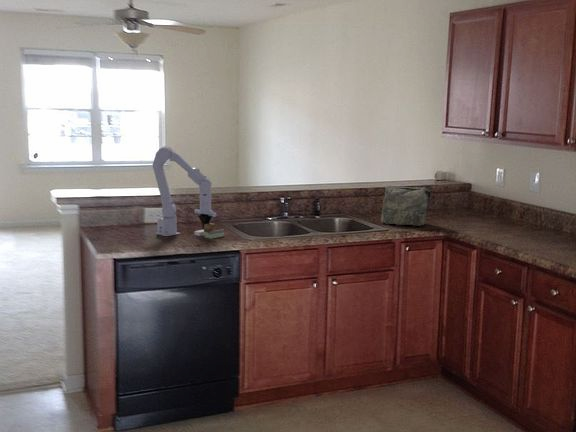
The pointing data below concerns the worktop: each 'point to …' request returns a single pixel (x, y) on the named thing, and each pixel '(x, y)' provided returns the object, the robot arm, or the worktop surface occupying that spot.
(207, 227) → the walnut block
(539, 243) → the worktop surface
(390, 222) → the lunch bag
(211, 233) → the board
